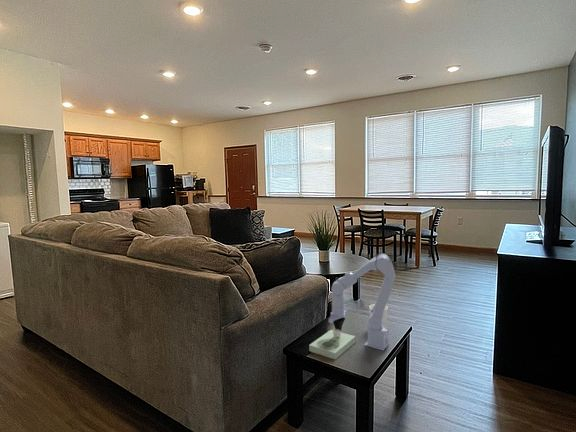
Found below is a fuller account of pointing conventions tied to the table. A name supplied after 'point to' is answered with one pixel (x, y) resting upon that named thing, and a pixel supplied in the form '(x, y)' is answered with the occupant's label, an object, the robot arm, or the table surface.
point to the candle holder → (385, 314)
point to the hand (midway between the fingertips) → (338, 332)
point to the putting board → (332, 344)
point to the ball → (337, 333)
